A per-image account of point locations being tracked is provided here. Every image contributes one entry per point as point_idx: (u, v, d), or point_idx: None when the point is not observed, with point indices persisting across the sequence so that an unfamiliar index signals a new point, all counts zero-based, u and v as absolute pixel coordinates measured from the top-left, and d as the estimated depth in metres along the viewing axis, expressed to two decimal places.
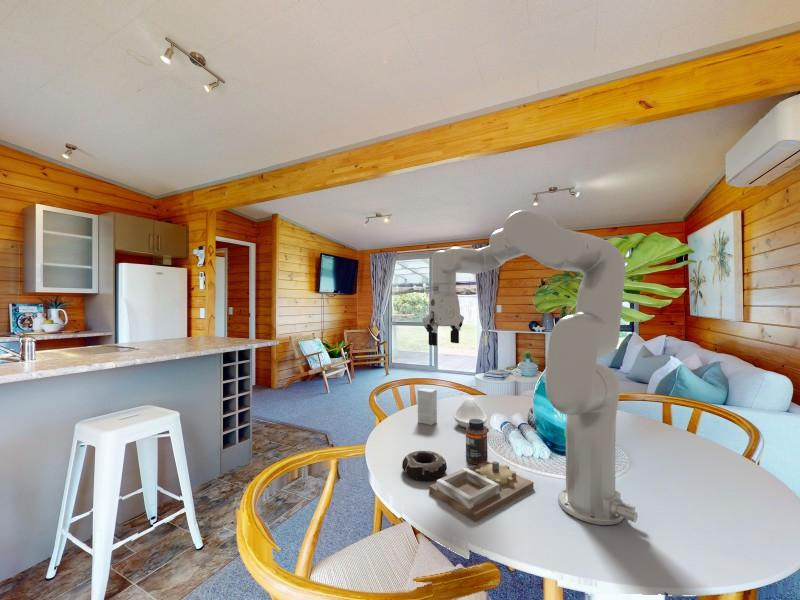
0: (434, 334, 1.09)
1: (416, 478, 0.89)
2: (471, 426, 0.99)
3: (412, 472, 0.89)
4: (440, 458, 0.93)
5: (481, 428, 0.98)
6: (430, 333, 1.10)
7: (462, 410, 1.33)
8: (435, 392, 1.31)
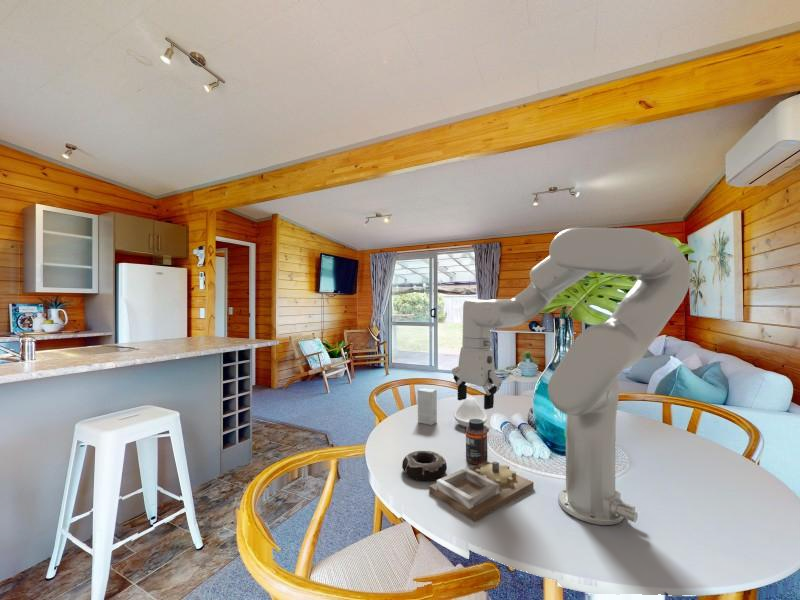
0: None
1: (416, 478, 0.89)
2: (471, 426, 0.99)
3: (412, 472, 0.89)
4: (440, 458, 0.93)
5: (481, 428, 0.98)
6: (492, 395, 0.96)
7: (462, 410, 1.34)
8: (435, 392, 1.31)
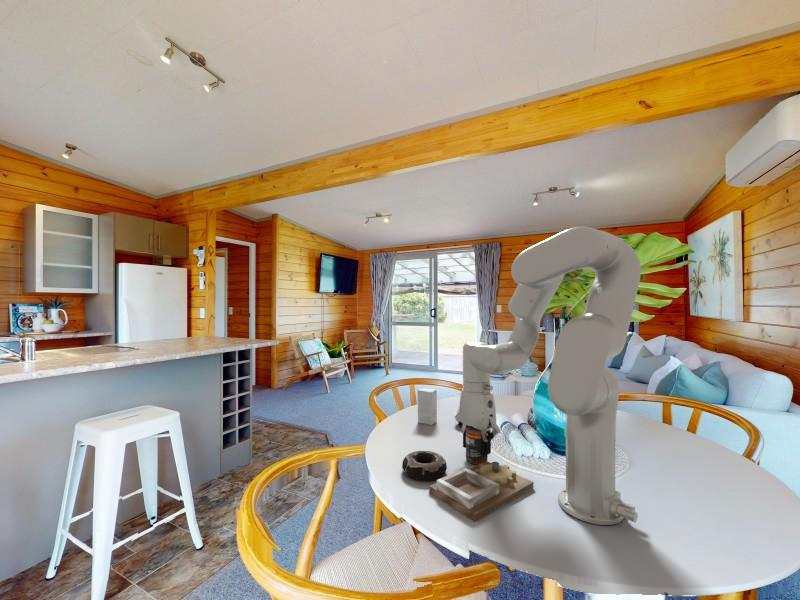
0: None
1: (416, 478, 0.89)
2: (471, 426, 0.99)
3: (412, 472, 0.89)
4: (440, 458, 0.93)
5: None
6: (489, 442, 0.97)
7: None
8: (435, 392, 1.31)
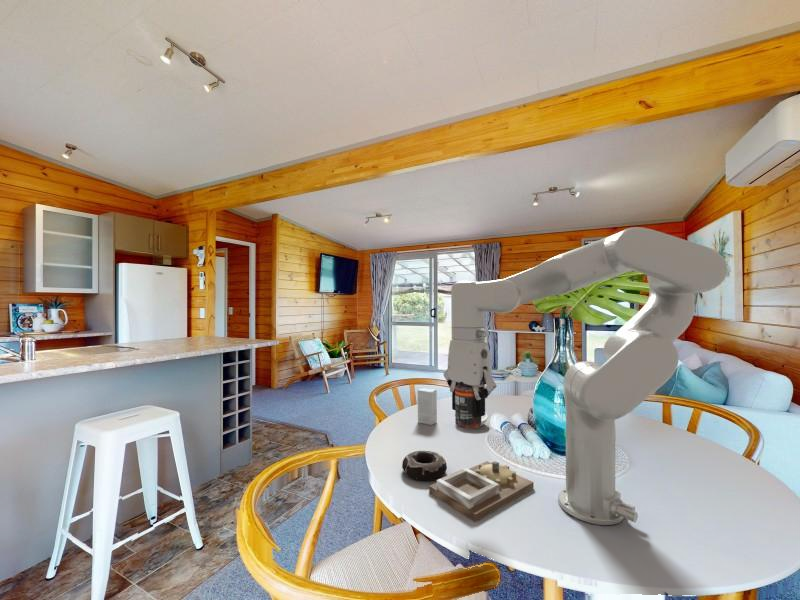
0: None
1: (416, 478, 0.89)
2: (461, 382, 0.81)
3: (412, 472, 0.89)
4: (440, 458, 0.93)
5: None
6: (482, 400, 0.79)
7: None
8: (435, 392, 1.31)
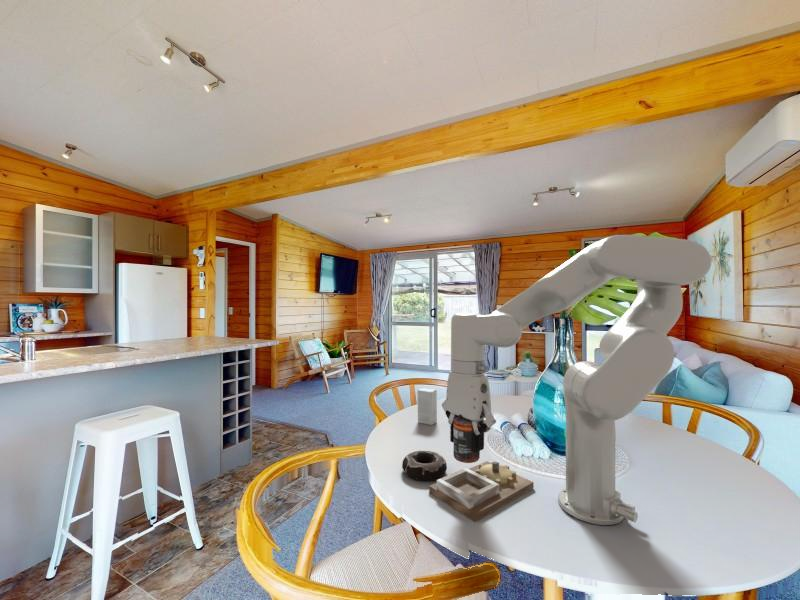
0: None
1: (416, 478, 0.89)
2: (460, 415, 0.80)
3: (412, 472, 0.89)
4: (440, 458, 0.93)
5: None
6: (481, 435, 0.78)
7: None
8: (435, 392, 1.31)
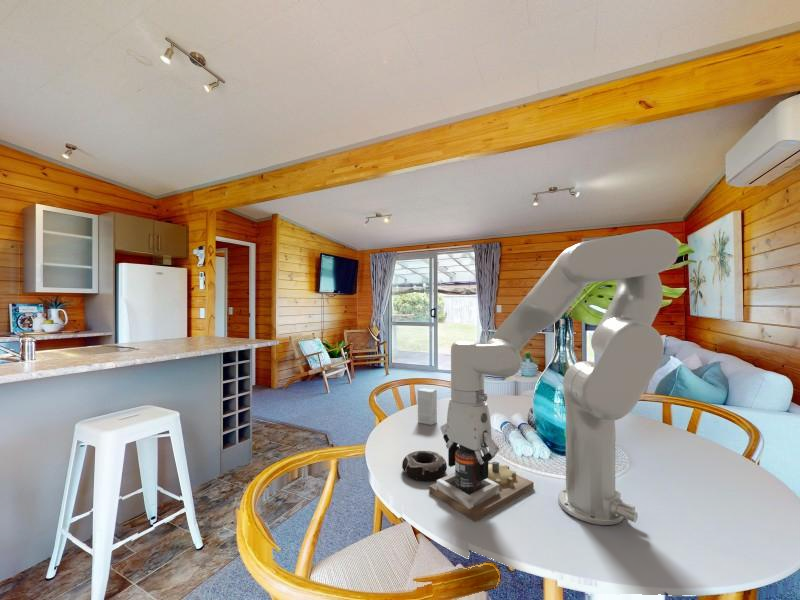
0: None
1: (416, 478, 0.89)
2: (462, 449, 0.80)
3: (412, 472, 0.89)
4: (440, 458, 0.93)
5: (474, 451, 0.80)
6: (486, 464, 0.78)
7: None
8: (435, 392, 1.31)
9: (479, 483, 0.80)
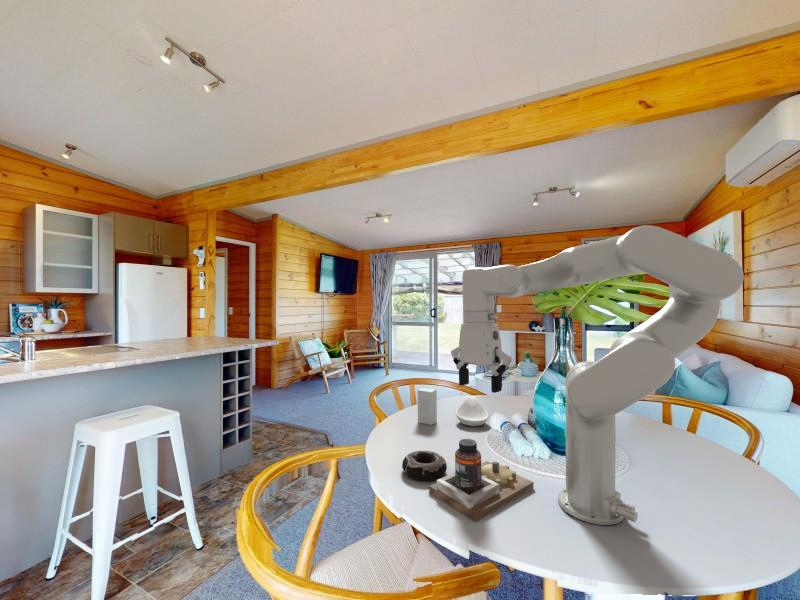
0: None
1: (416, 478, 0.89)
2: (461, 449, 0.80)
3: (412, 472, 0.89)
4: (440, 458, 0.93)
5: (474, 451, 0.80)
6: (500, 376, 0.83)
7: (464, 408, 1.36)
8: (435, 392, 1.31)
9: (479, 483, 0.80)
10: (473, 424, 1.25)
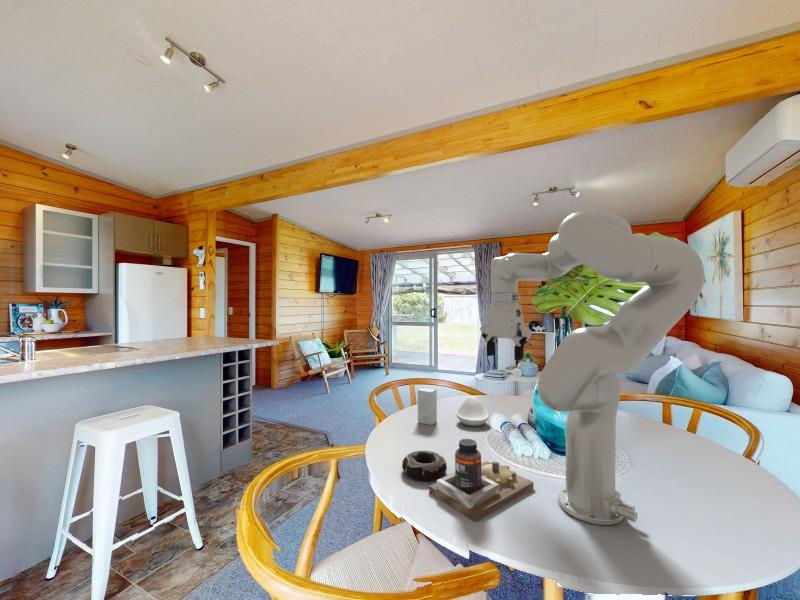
0: None
1: (416, 478, 0.89)
2: (461, 449, 0.80)
3: (412, 472, 0.89)
4: (440, 458, 0.93)
5: (474, 451, 0.80)
6: (522, 347, 1.00)
7: (464, 408, 1.36)
8: (435, 392, 1.31)
9: (479, 483, 0.80)
10: (473, 424, 1.26)
